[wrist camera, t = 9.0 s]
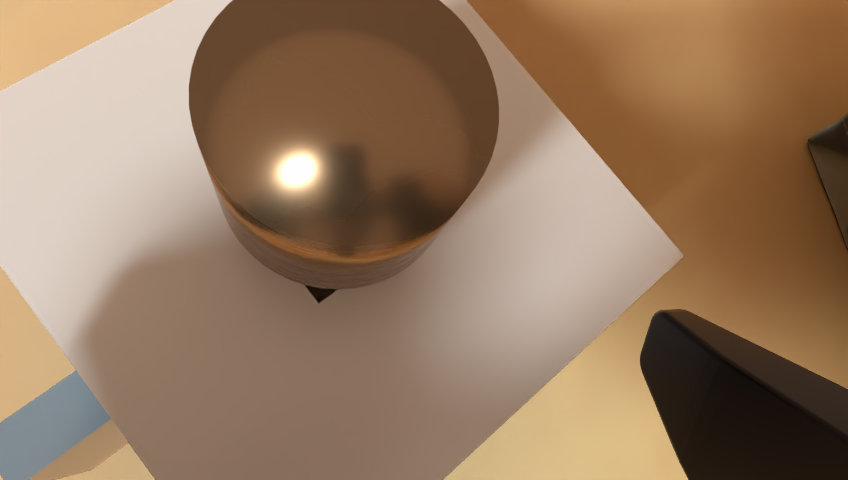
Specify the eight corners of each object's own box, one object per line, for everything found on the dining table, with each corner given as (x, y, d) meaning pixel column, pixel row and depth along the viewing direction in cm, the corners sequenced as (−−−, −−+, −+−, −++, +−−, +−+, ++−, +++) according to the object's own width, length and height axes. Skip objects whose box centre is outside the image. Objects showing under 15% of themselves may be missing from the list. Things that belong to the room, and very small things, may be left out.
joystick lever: (504, 302, 17) (754, 168, 8) (291, 483, 15) (280, 597, 6) (345, 106, 18) (398, -237, 8) (117, 251, 15) (-153, 6, 6)
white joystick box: (542, 314, 18) (683, 256, 11) (210, 604, 15) (139, 759, 8) (349, 77, 19) (377, -105, 12) (-8, 300, 15) (-237, 213, 9)
